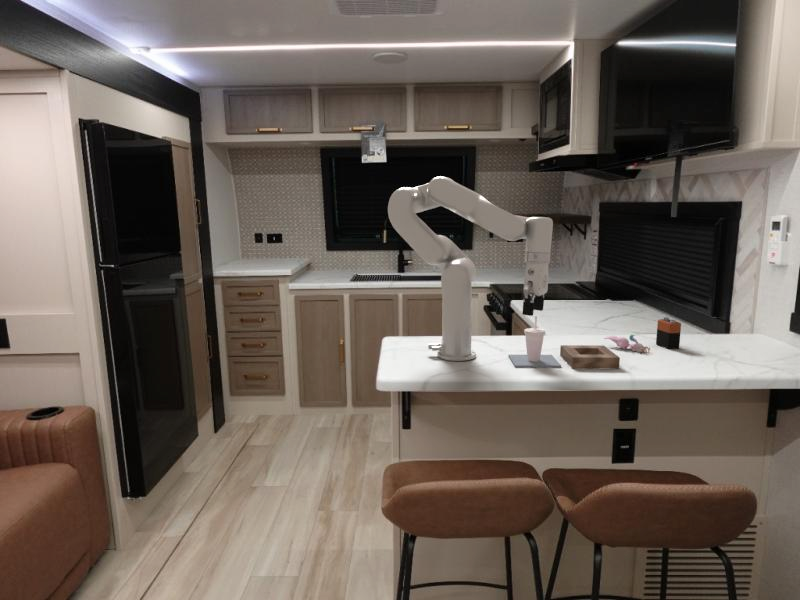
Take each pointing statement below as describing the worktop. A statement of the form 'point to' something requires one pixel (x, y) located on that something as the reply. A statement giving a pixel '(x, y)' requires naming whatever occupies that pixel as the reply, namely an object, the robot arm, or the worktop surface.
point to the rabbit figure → (624, 343)
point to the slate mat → (524, 362)
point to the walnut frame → (589, 356)
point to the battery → (668, 333)
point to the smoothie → (534, 342)
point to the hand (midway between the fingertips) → (532, 312)
